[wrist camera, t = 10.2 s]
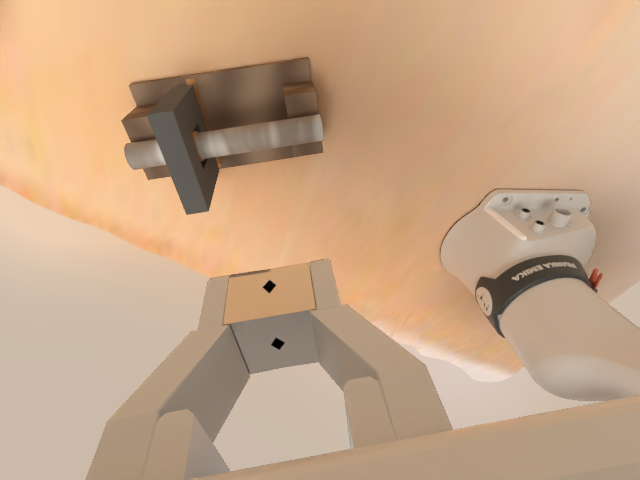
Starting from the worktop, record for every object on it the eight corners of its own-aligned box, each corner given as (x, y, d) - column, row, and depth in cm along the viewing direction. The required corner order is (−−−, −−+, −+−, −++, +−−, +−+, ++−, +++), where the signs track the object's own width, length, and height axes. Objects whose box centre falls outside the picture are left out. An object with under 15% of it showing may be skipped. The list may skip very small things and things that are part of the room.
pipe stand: (307, 57, 36) (317, 73, 29) (318, 149, 42) (328, 180, 35) (131, 83, 35) (99, 105, 28) (168, 173, 41) (149, 209, 34)
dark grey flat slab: (193, 84, 33) (172, 110, 26) (219, 169, 39) (208, 211, 32) (172, 87, 33) (146, 114, 26) (201, 172, 39) (186, 214, 32)
